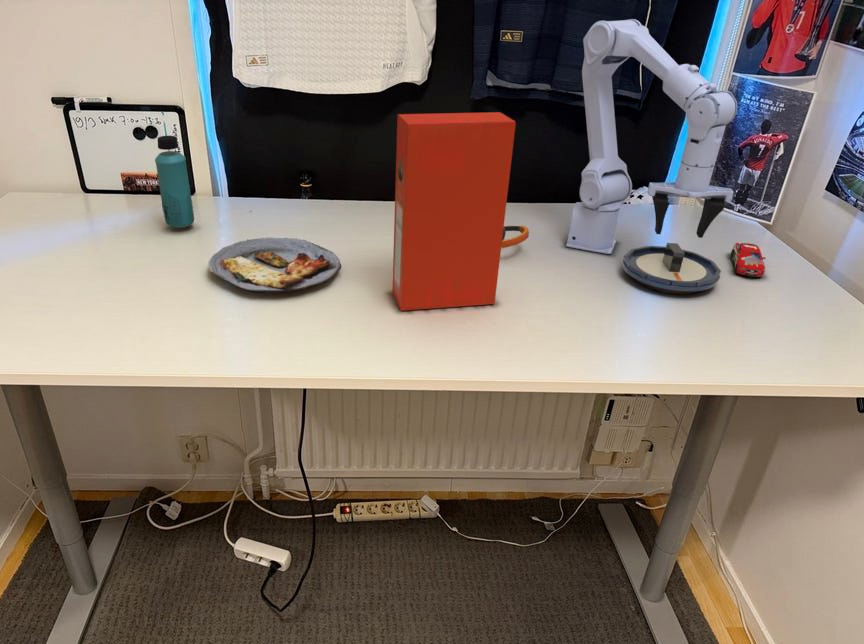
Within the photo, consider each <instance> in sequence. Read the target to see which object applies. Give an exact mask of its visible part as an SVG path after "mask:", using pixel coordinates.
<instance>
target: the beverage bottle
mask: <svg viewBox="0 0 864 644" xmlns="http://www.w3.org/2000/svg"><path fill="white" fill-rule="evenodd" d="M157 148H158V149H159V150H165V151H162V152H159V154H157V156H156V157H155V159H154V162H155V166H156V172H157V180H158V186H159V194H160V195H159V196H160V197H159V198H160V200H161V209H162V212H163V213H162V214H163V218H164V222H165V224H166V226H168V227H171V228H183V227H189V226H191V225H193V224H194V222H195V218H196V217H195V212H194V210H195V209H194V203H193V202H194V201H193V200H192V193H191V192H192V191H191V186H190V181H189V175H188V167H187V162H186V161H187V160H186V156H185V155H184V154H182V153H181V152H179V151H176V150H175V149H178V148H179V143H178V138H177V137H176V136H174V135H161V136H158V137H157Z"/></svg>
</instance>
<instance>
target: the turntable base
mask: <svg viewBox="0 0 864 644" xmlns="http://www.w3.org/2000/svg"><path fill="white" fill-rule="evenodd" d="M635 281H636V282H638V283H639V284H640V285H642V286H643V287H646V288H648V289H650V290H654V291H657V292H660V293H666V294H673V295H688V294H693V293H697V292H698V291H676V290H669V289H663V288H659V287H655V286H652V285H649V284H646V283H643V282H641V281H639V280H637V279H635Z"/></svg>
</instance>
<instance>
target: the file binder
mask: <svg viewBox="0 0 864 644" xmlns="http://www.w3.org/2000/svg"><path fill="white" fill-rule="evenodd" d="M396 123H397V124H396V125H397V126H396V153H395V154H396V155H395V157H396V158H395V187H394V188H395V190H394V192H395V193H394V219H393V221H394V224H393V225H394V226H393V257H392V287H391V288H392V290H391V291H392V295H393V297H394V299H395V302H396V303H397V306H398V308H399V310H400V311H401V312H402V311H415V310H416V311H417V310H428V309H443V308H444V309H445V308H455V307H472V306H482V305H483V306H484V305H495V304H496V295H497V287H498V279H499V278H498V277H499V270H500V262H501V261H500V260H501V255H502V254H501V252H502V247H501V245H502V237H503V228H504V226H505V221H506V220H505V219H506V212H507V211H506V210H507V203H508V202H507V201H508V193H509V184H510V177H511V176H510V175H511V169H512V167H511V166H512V158H513V151H514V141H515V133H516V127H517V126H516V125H517V122H516V121H515V120H514V119H512V118H511V117H509V116H507V115H505V113H502V112H500V111H496V112H495V111H494V112H493V111H490V112H454V113H453V112H451V113H449V112H447V113H446V112H444V113H403V114H401V113H398V114H397V121H396Z"/></svg>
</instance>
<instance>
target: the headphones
mask: <svg viewBox="0 0 864 644" xmlns="http://www.w3.org/2000/svg"><path fill="white" fill-rule="evenodd" d="M506 232H519V233H520V234H519V235H516V236H514V237H512V238H507V239H505V237H506ZM529 236H530V230H529V228H528V227H527V226H525V225H504V228H503V237H502V245H501V249H505V248H509V247H513V246H517V245H519V244H521V243H523V242H525V241H526V240H527V239H528V238H529Z"/></svg>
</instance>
